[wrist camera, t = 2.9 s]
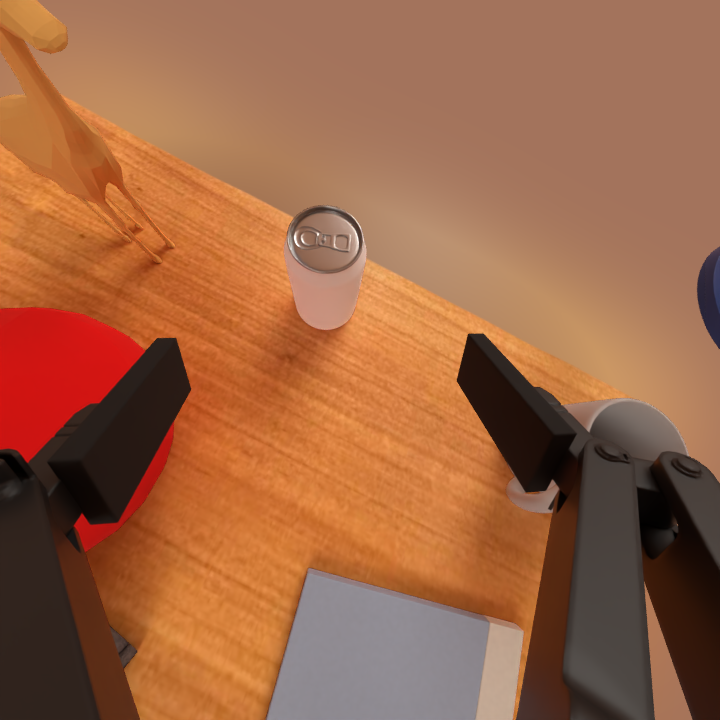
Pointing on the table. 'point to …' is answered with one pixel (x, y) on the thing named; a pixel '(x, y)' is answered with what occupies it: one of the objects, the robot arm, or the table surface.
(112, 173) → the giraffe
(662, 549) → the robot arm
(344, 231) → the can
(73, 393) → the vase
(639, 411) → the mug
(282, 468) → the table surface
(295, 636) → the blue flat rectangular slab
